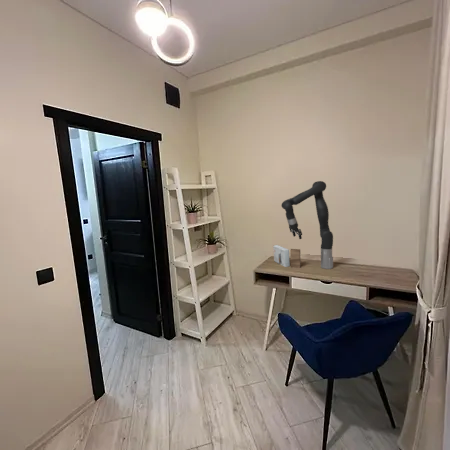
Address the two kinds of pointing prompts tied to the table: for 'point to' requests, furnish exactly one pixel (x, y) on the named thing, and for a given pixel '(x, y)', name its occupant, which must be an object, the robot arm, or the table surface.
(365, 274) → the table surface
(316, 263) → the table surface
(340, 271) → the table surface
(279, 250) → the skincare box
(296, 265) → the walnut block
